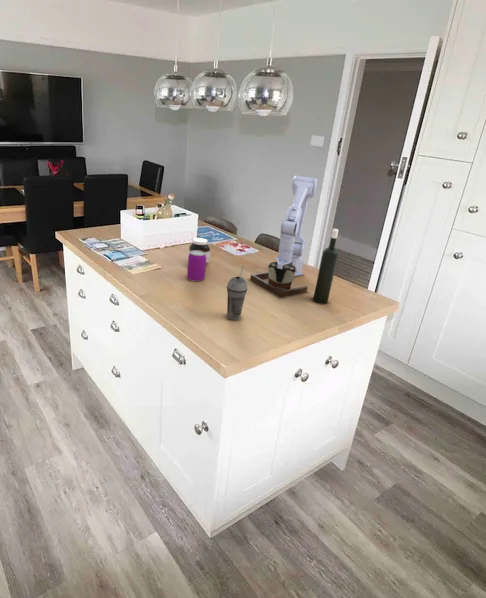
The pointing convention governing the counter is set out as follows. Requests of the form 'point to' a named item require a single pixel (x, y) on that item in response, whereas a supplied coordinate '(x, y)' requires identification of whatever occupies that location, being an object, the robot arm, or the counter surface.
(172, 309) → the counter surface
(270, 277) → the food container
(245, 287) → the beverage cup
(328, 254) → the wine bottle
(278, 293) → the brown frame
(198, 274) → the beverage can
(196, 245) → the spread jar
